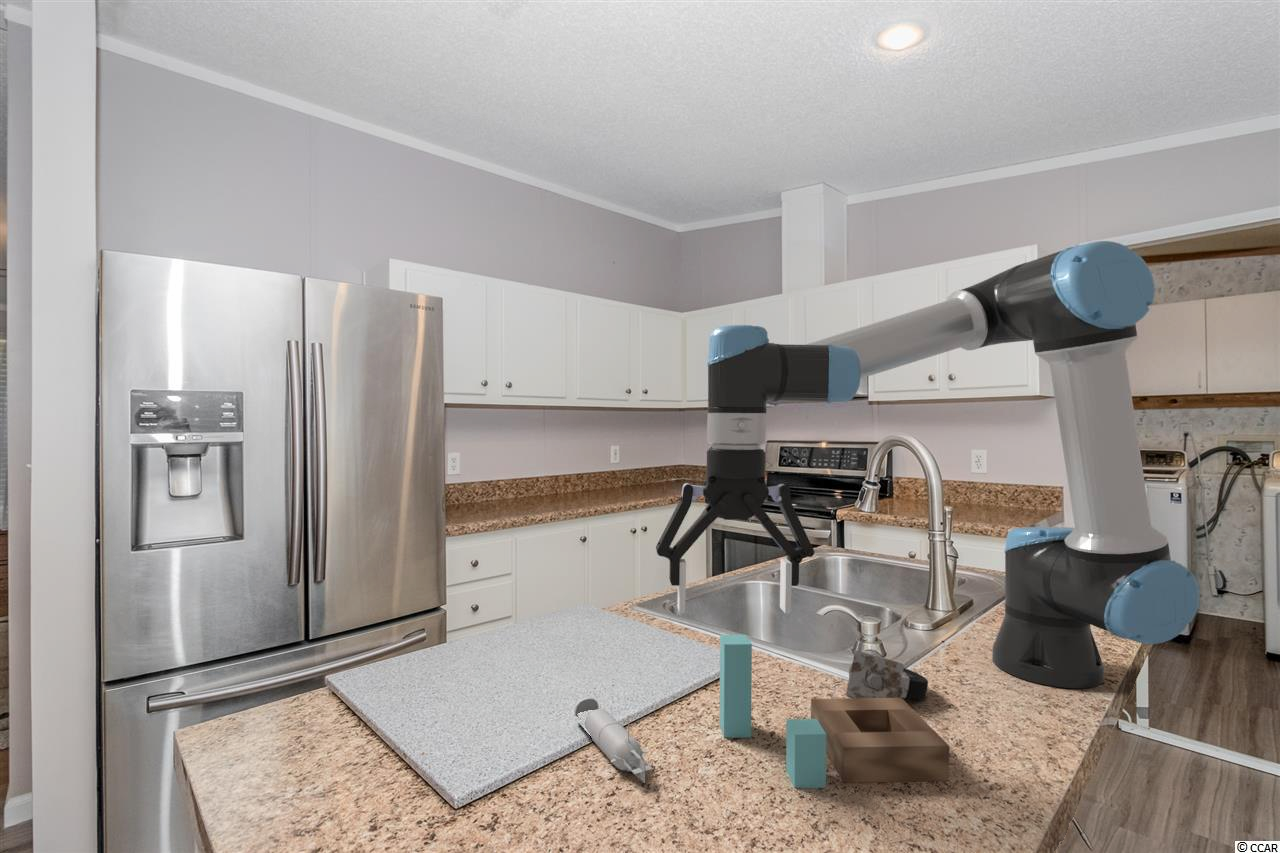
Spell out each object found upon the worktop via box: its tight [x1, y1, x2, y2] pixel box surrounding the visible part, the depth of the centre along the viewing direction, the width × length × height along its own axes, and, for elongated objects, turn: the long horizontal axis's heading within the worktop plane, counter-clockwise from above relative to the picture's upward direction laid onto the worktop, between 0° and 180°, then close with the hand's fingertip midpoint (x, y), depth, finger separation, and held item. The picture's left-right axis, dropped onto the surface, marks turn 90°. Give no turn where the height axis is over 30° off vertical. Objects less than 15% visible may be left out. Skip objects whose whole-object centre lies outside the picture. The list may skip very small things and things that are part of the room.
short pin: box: [785, 718, 827, 789], centre depth 72 cm, size 4×4×6 cm
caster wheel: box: [845, 648, 929, 700], centre depth 93 cm, size 7×11×10 cm
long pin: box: [719, 634, 753, 739], centre depth 82 cm, size 4×4×12 cm
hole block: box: [810, 697, 950, 784], centre depth 77 cm, size 12×12×4 cm
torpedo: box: [573, 697, 653, 784], centre depth 78 cm, size 18×5×7 cm, turn 28°
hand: (733, 610), depth 82 cm, fingers open, 13 cm apart
